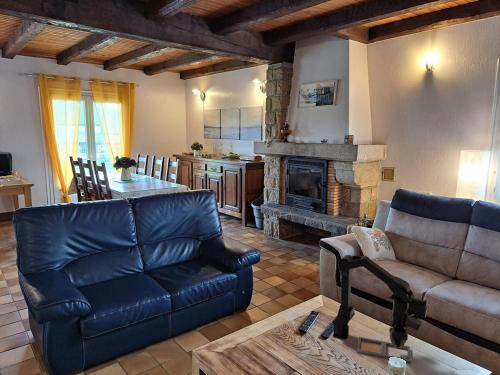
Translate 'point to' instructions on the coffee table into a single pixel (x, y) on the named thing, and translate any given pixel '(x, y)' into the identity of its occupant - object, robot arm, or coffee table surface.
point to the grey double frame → (378, 348)
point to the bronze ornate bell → (394, 342)
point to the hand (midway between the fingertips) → (397, 342)
